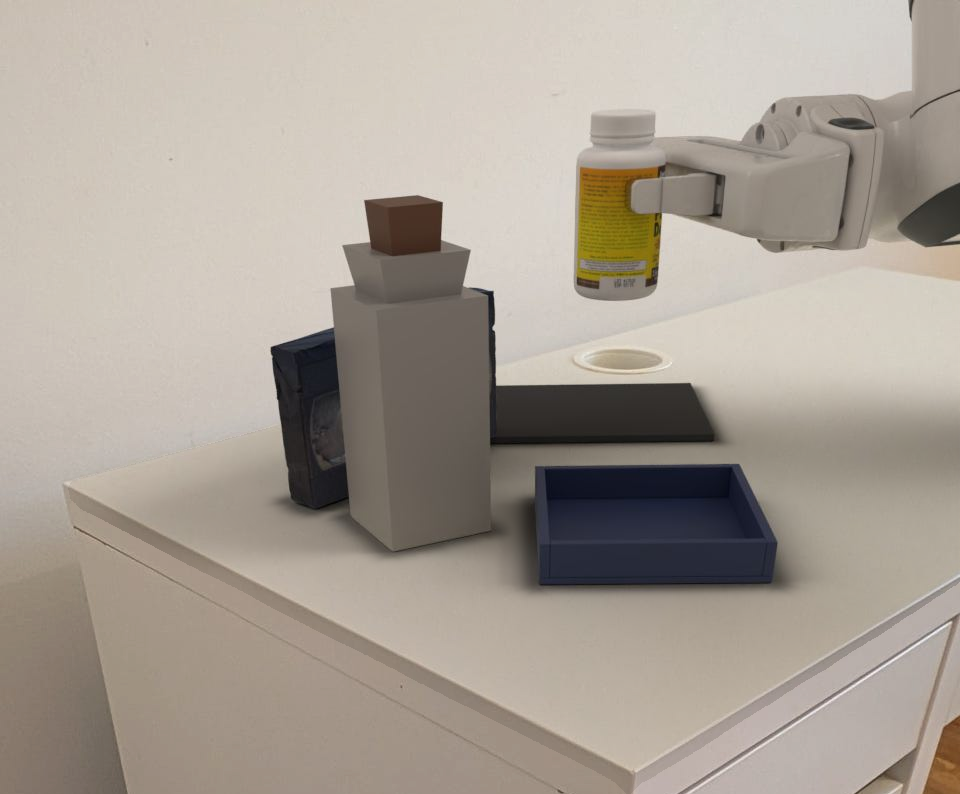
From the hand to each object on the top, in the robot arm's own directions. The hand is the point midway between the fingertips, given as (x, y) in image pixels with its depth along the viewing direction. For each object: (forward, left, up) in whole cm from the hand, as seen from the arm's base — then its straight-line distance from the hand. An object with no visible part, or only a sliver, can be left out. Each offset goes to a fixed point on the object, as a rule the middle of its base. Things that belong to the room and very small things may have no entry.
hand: (607, 189), depth 72 cm
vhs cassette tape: (+14, +2, -17) cm, 22 cm away
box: (-2, +15, -17) cm, 23 cm away
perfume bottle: (+12, +12, -17) cm, 24 cm away
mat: (0, -11, -17) cm, 20 cm away
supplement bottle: (-1, 0, -6) cm, 6 cm away
